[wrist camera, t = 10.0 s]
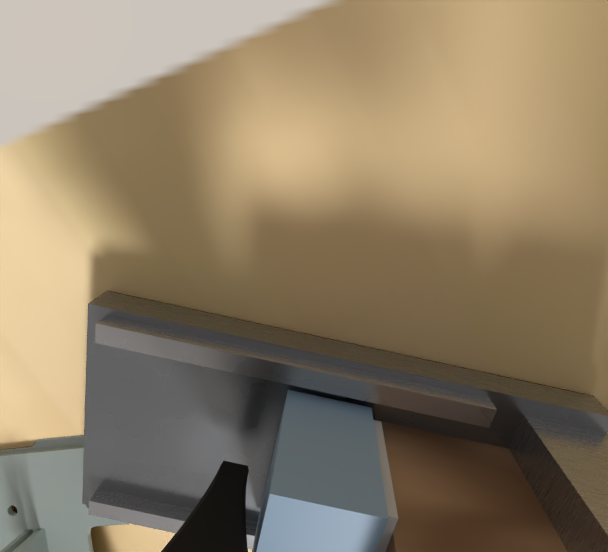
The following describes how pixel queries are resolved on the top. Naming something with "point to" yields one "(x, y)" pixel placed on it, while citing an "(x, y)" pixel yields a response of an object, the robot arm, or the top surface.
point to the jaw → (327, 481)
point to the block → (462, 497)
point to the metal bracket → (45, 498)
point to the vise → (270, 403)
